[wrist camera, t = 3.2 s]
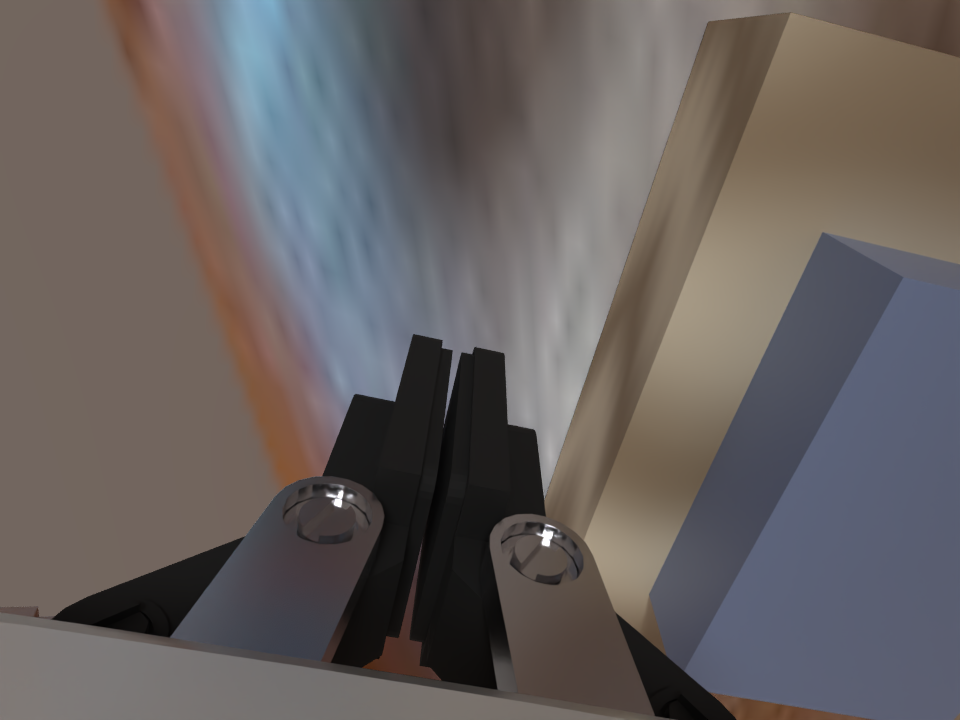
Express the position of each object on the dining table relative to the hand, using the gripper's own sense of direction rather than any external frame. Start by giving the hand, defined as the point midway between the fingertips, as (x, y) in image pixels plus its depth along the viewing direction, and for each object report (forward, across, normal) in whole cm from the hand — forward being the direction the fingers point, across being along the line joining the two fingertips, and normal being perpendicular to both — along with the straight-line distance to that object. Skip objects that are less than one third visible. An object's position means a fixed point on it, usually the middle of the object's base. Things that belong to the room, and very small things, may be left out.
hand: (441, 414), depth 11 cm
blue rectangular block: (0, -9, 0) cm, 9 cm away
